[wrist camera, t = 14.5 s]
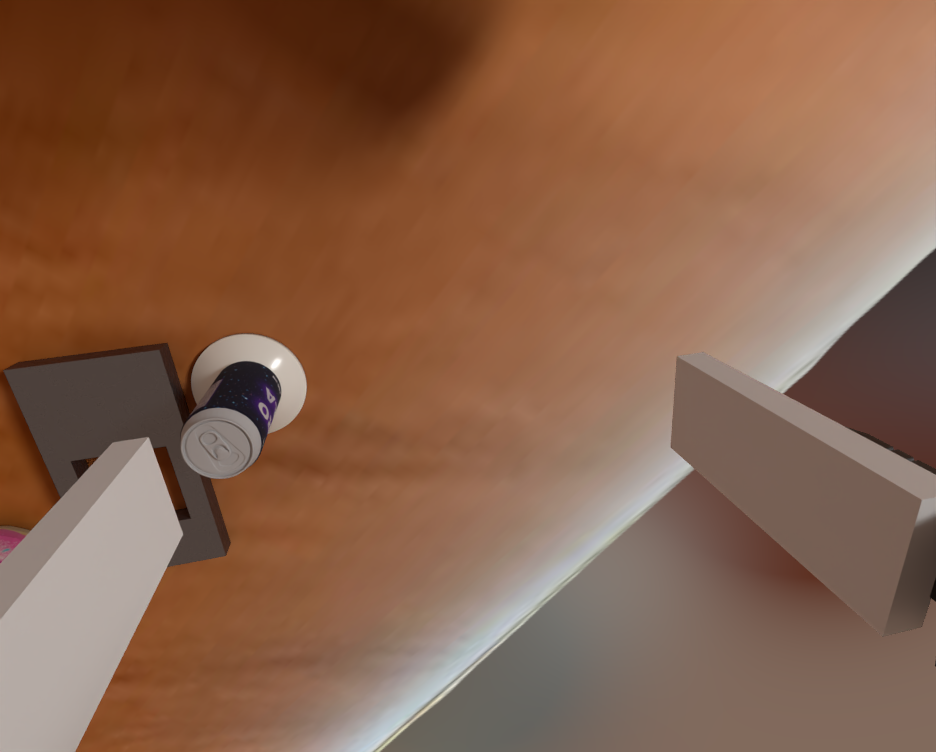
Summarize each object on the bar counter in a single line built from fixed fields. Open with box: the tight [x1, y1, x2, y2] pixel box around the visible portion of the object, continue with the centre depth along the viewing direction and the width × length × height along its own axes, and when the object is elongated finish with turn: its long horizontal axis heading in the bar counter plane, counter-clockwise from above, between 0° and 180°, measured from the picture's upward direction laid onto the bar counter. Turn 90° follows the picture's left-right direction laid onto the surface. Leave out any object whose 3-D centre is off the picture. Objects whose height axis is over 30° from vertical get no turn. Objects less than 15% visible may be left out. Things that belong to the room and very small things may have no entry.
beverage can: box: [180, 361, 281, 479], centre depth 43 cm, size 6×6×12 cm
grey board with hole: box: [3, 343, 230, 567], centre depth 49 cm, size 22×12×2 cm, turn 5°
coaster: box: [191, 333, 307, 433], centre depth 49 cm, size 10×10×1 cm
